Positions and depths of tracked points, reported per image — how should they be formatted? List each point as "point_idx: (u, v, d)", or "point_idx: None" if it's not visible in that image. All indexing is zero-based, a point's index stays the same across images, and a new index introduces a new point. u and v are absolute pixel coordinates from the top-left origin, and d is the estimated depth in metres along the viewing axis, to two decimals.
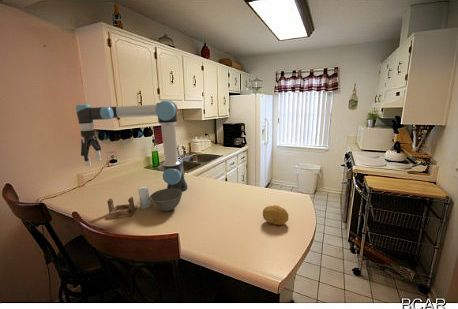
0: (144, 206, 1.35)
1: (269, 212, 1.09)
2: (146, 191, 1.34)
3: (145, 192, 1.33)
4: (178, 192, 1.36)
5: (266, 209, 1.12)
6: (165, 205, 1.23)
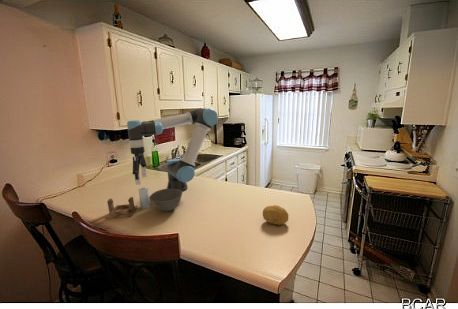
0: (144, 206, 1.35)
1: (269, 212, 1.09)
2: (146, 191, 1.34)
3: (145, 192, 1.33)
4: (178, 192, 1.36)
5: (266, 209, 1.12)
6: (165, 205, 1.23)
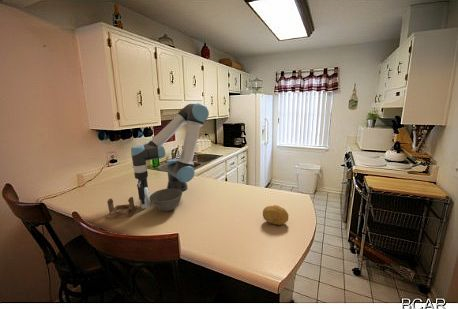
0: None
1: (269, 212, 1.09)
2: (146, 191, 1.34)
3: (145, 192, 1.33)
4: (178, 192, 1.36)
5: (266, 209, 1.12)
6: (165, 205, 1.23)
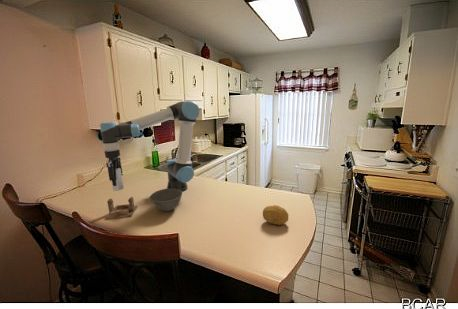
0: None
1: (269, 212, 1.09)
2: (118, 172, 1.23)
3: (117, 172, 1.23)
4: (178, 192, 1.36)
5: (266, 209, 1.12)
6: (165, 205, 1.23)
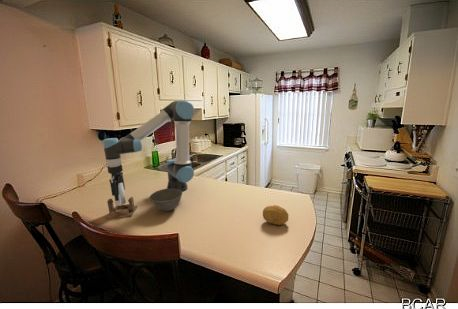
0: None
1: (269, 212, 1.09)
2: (120, 187, 1.25)
3: (119, 187, 1.25)
4: (178, 192, 1.36)
5: (266, 209, 1.12)
6: (165, 205, 1.23)
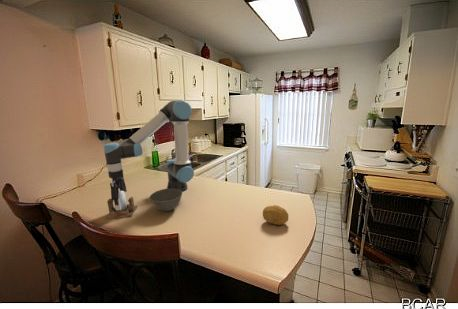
0: None
1: (269, 212, 1.09)
2: (122, 195, 1.26)
3: (121, 196, 1.26)
4: (178, 192, 1.36)
5: (266, 209, 1.12)
6: (165, 205, 1.23)
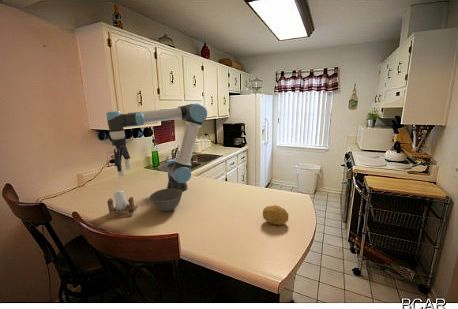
0: None
1: (269, 212, 1.09)
2: (122, 195, 1.26)
3: (121, 196, 1.26)
4: (178, 192, 1.36)
5: (266, 209, 1.12)
6: (165, 205, 1.23)
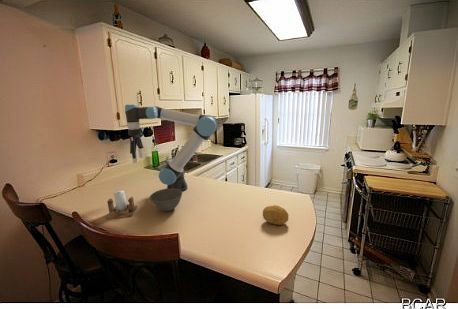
0: None
1: (269, 212, 1.09)
2: (122, 195, 1.27)
3: (121, 196, 1.26)
4: (178, 192, 1.36)
5: (266, 209, 1.12)
6: (165, 205, 1.23)
